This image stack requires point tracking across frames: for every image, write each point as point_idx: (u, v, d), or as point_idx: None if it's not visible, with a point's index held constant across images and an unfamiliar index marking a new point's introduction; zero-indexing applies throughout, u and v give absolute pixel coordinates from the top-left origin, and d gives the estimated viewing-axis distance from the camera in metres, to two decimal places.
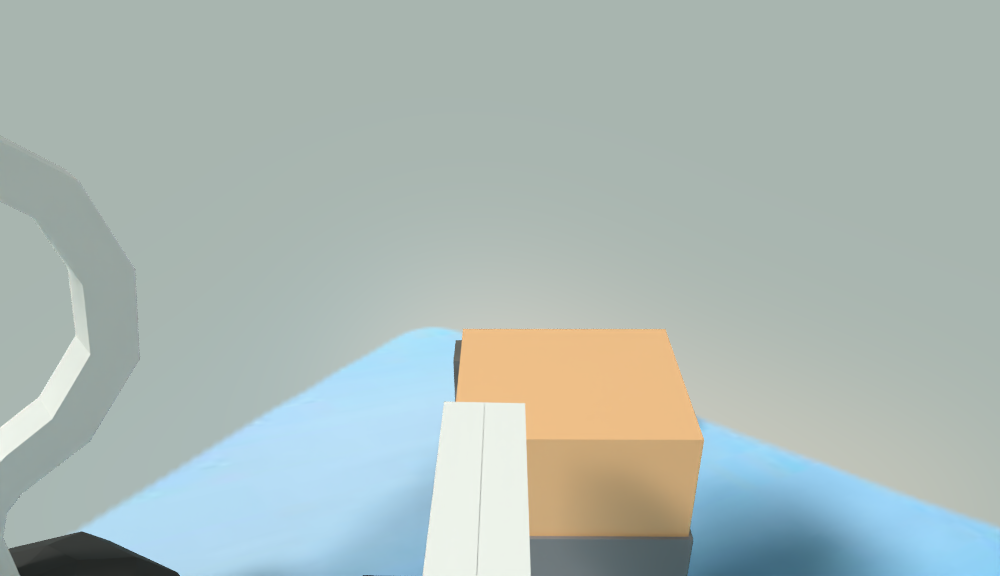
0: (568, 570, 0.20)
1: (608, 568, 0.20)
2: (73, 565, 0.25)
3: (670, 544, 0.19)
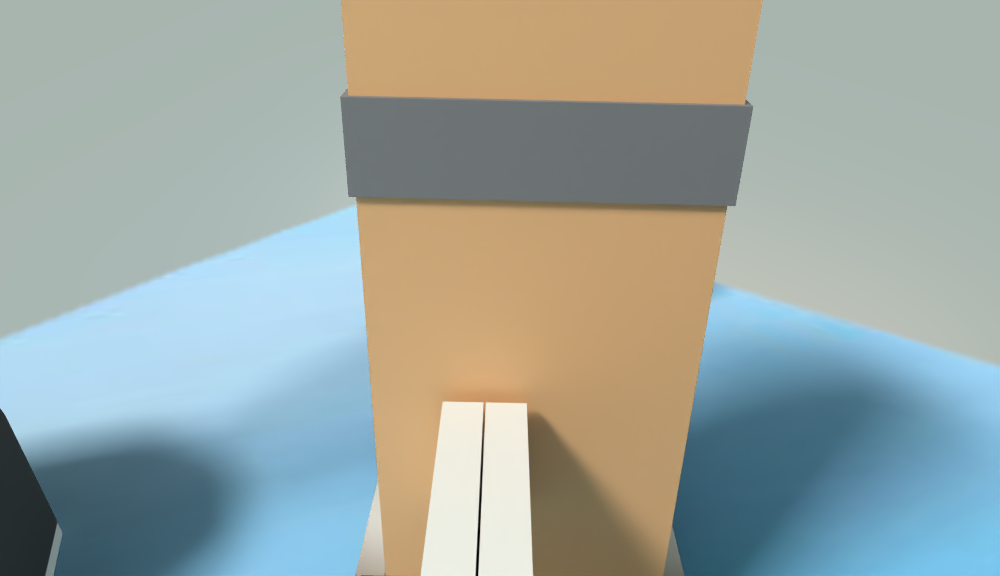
0: (538, 175, 0.12)
1: (606, 170, 0.12)
2: None
3: (713, 118, 0.11)
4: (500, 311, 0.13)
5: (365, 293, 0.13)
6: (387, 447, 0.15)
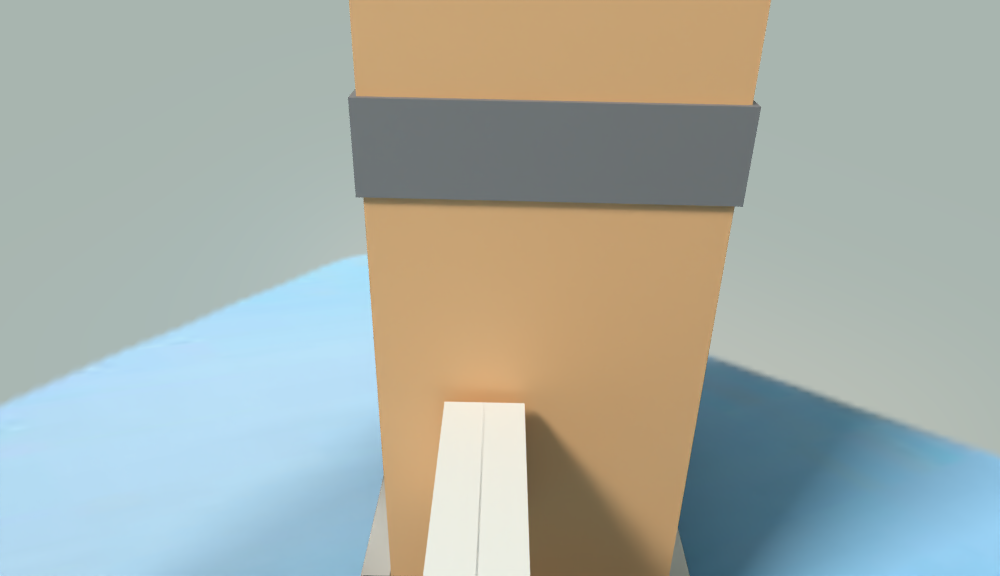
0: (546, 175, 0.12)
1: (613, 171, 0.12)
2: None
3: (721, 119, 0.11)
4: (506, 312, 0.13)
5: (372, 293, 0.13)
6: (393, 447, 0.15)
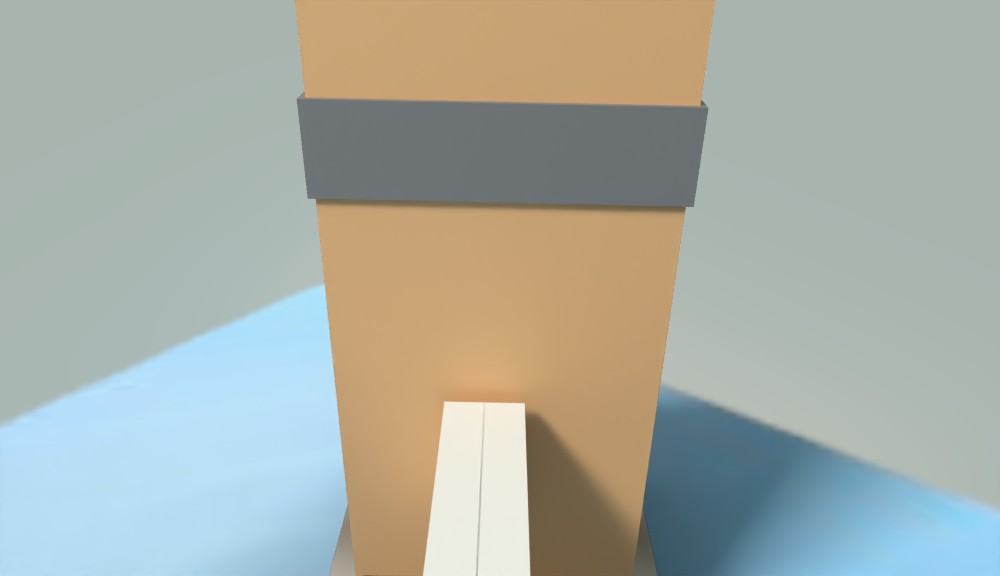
0: (497, 176, 0.12)
1: (564, 172, 0.12)
2: None
3: (669, 120, 0.11)
4: (462, 312, 0.13)
5: (327, 294, 0.13)
6: (353, 448, 0.15)
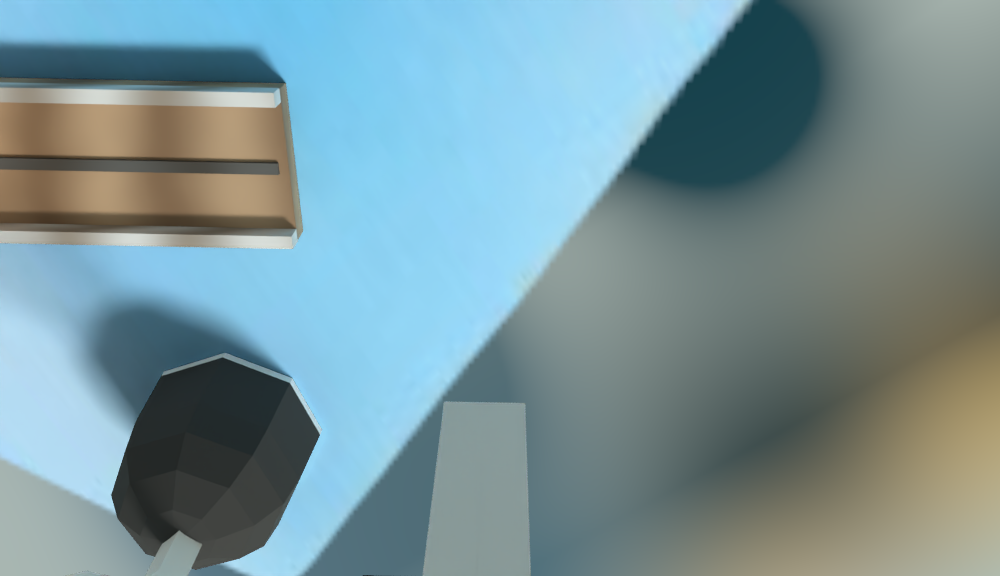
0: None
1: None
2: (151, 517, 0.39)
3: None
4: None
5: None
6: None
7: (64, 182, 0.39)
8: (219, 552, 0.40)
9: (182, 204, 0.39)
